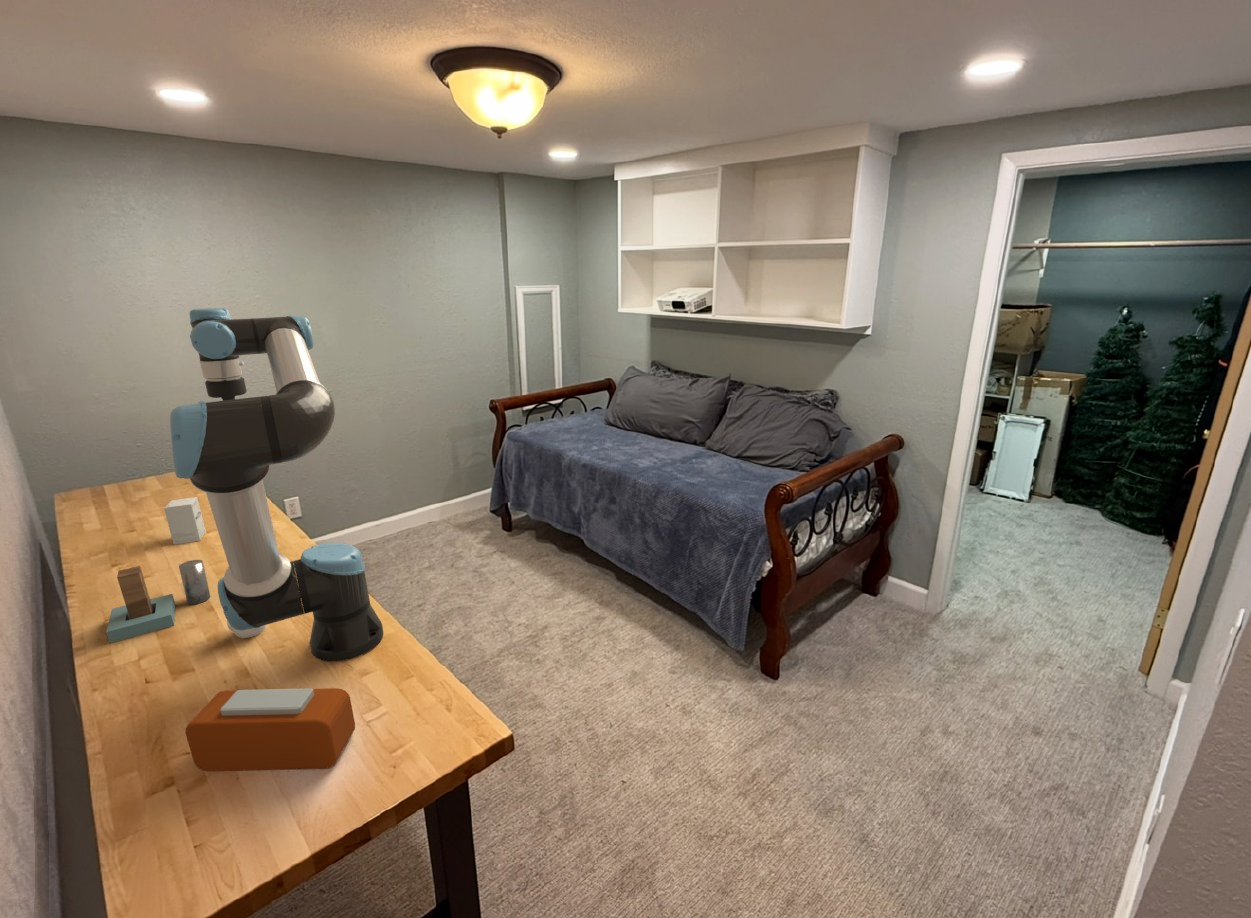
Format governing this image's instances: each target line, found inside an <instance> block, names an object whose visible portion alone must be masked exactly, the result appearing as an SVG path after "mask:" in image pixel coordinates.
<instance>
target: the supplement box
mask: <svg viewBox="0 0 1251 918" xmlns="http://www.w3.org/2000/svg"><path fill="white" fill-rule="evenodd" d="M163 509H164V513H165V518H166V520H167V521H166V522H167V524H168V528H169V532H170V535H171V541H172V542H173V545H174V546H175V545H181V544H188V543H195V542H200V541H201V540H202V539H203V536H204V535H205V534H206V532H207V531H206V528H205V524H204V523H205V522H204V518H203V515H202V511H201V507H200V503H199V499H198V497H197V496H195V497H194V496H193V497H186V498H179V499H173V500H170V501H169V502H168V503H167V504H166V506H164V508H163Z"/></svg>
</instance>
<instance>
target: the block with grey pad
mask: <svg viewBox="0 0 1251 918" xmlns="http://www.w3.org/2000/svg"><path fill="white" fill-rule="evenodd" d="M355 730H356V722H355V716H354V712H353V705H352V701H351V697H350V694H349V693H348V691H346V690H345V689H343V688H339V687H338V688H337V687H336V688H335V687H331V688H330V687H329V688H326V687H325V688H323V687H322V688H274V689H273V688H272V689H270V688H269V689H234V690H231V689H228V690H222V691H220V692H218V693H216V694H215V695H214V696H213V698H212V699H210V701H208V703H207V704H206V705H205V706H204V707H203V708H202V709H201V710H200V711H199V712H198V713H197V714H196V715H195V717H193V719H192V720H191V721H189V723H188V724H187V725H186V727H185V729H184V731H185V734H184V735H185V737H186V740H187V743H188V747H189V750H190V754H191V757H192V760H193V763H194V765H195V766H196V767H197V768H198V770H201V771H204V772H232V771H233V772H235V771H236V772H239V771H240V772H241V771H283V770H285V771H289V770H293V771H294V770H326V769H330V768H332V767H333V766H335V764H336V763H337V761H338V759H339V758H340V756H341V755H342V753H343V750H344V749H345V748H346V746H347V744H348V742H349V741H350V739H351V737H352V735H353V733H354V732H355Z"/></svg>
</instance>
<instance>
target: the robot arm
mask: <svg viewBox="0 0 1251 918" xmlns="http://www.w3.org/2000/svg"><path fill="white" fill-rule="evenodd" d="M188 314H189V319H190V326H191V328H192V329H191V331H190V334H189V337H190V343H191V346H192V347H193V348H194V350H195V351H196V352H197V353H198V357H199V365H200V368H201V373H202V378H204V379H206V380H205V382H204V384H205V388H206V392H207V396H208V397H209V398H213V399H220V398H221V400H217V401H207V402H206V401H203V400H202V401H201V400H200V401H199V402H196V403H190V404H183V405H177V406H176V407H175V408H173V409H172V410H171V412H170V415H169V425H170V426H169V427H170V438H171V449H172V459H173V467H174V474H175V476H176V477H177V478H178V479H186V480H188V479H189V480H190V482H191V484H192V485H193V487H195V488H196V489H197V490H198V491H201V492H204V493H205V494H206V497H207V500H208V502H209V507H210V509H211V512H212V513H211V514H212V515H213V520H214V523H215V526H216V528H217V532H218V535H219V540H220V542H221V546H222V548H223V551H224V555H225V559H226V561H227V565H228V567H227V568H226V570H225V573H224V576H223V577H221V578H219V580H218V582H217V594H218V599H219V602H220V605H221V608H222V610H223V614H224V616H225V619H226V622H227V621H228V622H229V624H230V625H231V626H232V627H233V628H234V629H236V630H247V629H251V628H258V627H261V626H264V625H266V626H267V625H271V624H273V623H278V622H282V621H284V620H285V621H286V620H289V619H292V618H295V617H299V616H302V615H305V614H309V613H312V616H313V622H312V628H311V633H310V637H309V638H310V639H309V647H310V652H311V655H312V657H314V659H317V660H320V661H323V662H328V663H329V662H331V663H332V662H333V663H334V662H343V661H348V660H351V659H355V658H357V657H359V656H362V655H364V654H367V653H369V652H370V651H372V650H373V649H374V648H375V647H377V646H378V645H379V643H381V641H382V639H383V638H384V637H383V636H384V627H383V623H382V621H381V619H380V618H379V616H378V614H377V613H376V611H375V609H374V607H372V605H371V601H370V595H369V593H370V592H369V588H368V584H367V577H366V572H365V570H366V566H365V563H364V559H363V555H362V553H361V551H360V550H359V548H357V547H355V546H354V545H351V544H347V543H343V542H342V543H341V542H327V543H320V544H317V545H314V546H313V545H312V546H311V547H308V548H306V549H305V550H304V551H303V552H302V553H301V556H300V558H299V559H296V560H289V559H288V558H287V557H286V556H285V555H284V554H283V553H280V550H279V546H278V542H277V538H276V534H275V530H274V529H275V528H274V525H273V520H272V515H271V513H270V512H271V511H270V507H269V502H268V497H267V494H266V490H265V484H264V480H265V479H266V477H267V476H268V474H269V473H270V472H269V471H270V465H274V464H282V463H286V462H287V463H288V462H292V461H296V460H298V459H301V458H304V457H305V456H306V455H308V454H310V453H311V452H312V451H314V450H315V449H316V448H318V446H320V444H321V443H322V442H323V441H325V439H326V437H327V436H328V434H329V433H330V431H331V429H332V427H333V424H334V420H335V415H336V414H335V413H336V412H335V410H336V409H335V403H334V400H333V397H332V395H331V393H330V391H329V390H328V389H327V388H326V386H324V385H323V384H321V381H320V380H319V376H318V373H317V371H316V369H315V366H314V364H313V360H312V358H311V355H310V352H309V351H310V350H311V349H313V348H314V338H313V337H314V336H313V331H312V327H311V323H310V321H309V319H308V318H307V317H305V316H292V315H286V316H276V317H257V318H235V319H234V318H232V317H231V314H230V311H229V310H228V308H224V307H210V308H209V307H206V308H194V309H191V310H190V311H189V313H188ZM259 354H260V355H261V354H266V356H267V358H268V362H269V363H268V364H269V367H270V369H271V370H270V371H271V374H272V378H273V379H272V380H273V383H274V386H275V391H276V393H275V394H270V395H263V396H255V397H254V396H253V397H244V398H236V397H237V396H242V395H245V394H246V393H247V386H246V381H245V378H243V377H242V375H243V371H242V370H243V369H242V367H243V366H244V365H245V362H244V361H240V356H247V355H259Z"/></svg>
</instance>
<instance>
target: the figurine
mask: <svg viewBox="0 0 1251 918" xmlns="http://www.w3.org/2000/svg"><path fill="white" fill-rule="evenodd" d="M226 625H227V629H229V631H231V632H232V633H234V635H236V636H237V637H238V638H240V639H247V638H252V637H256V636H258V635H259V634H261V633H263V632H264V631H265V629H266V628H267V625H264V626H261V627H258V628H251V629H247V630H236V629H234V628H233V627H232V626H231V625H230V624H229V622H228V621H227V620H226Z"/></svg>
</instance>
